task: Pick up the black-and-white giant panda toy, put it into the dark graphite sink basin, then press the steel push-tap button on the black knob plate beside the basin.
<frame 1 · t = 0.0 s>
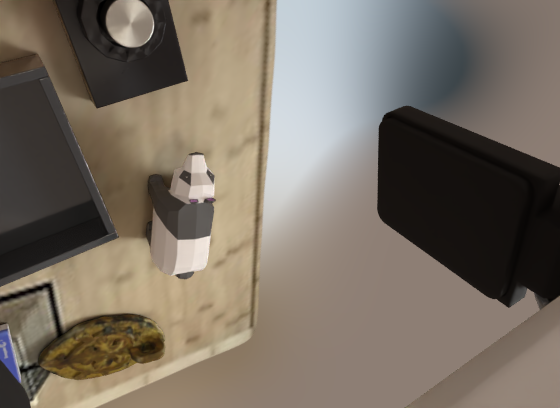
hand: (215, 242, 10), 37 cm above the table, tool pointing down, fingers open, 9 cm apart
black knob plate: (119, 30, 40), on the table
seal: (104, 342, 56), on the table
giant panda: (168, 195, 51), on the table
tap button: (127, 21, 36), point 5 cm above the table, slide at 0.1 cm
sink: (2, 168, 41), on the table
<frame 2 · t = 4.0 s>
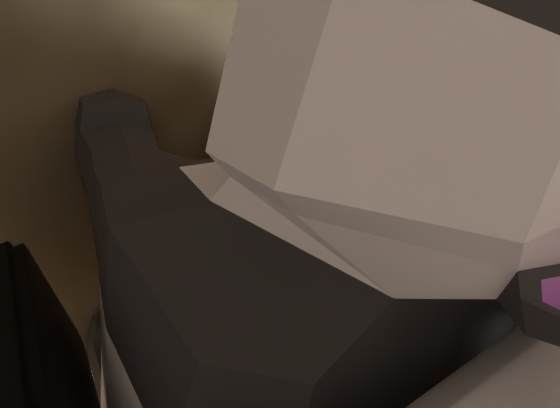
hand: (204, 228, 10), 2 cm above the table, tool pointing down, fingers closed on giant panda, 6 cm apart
giant panda: (176, 196, 12), on the table, touching gripper
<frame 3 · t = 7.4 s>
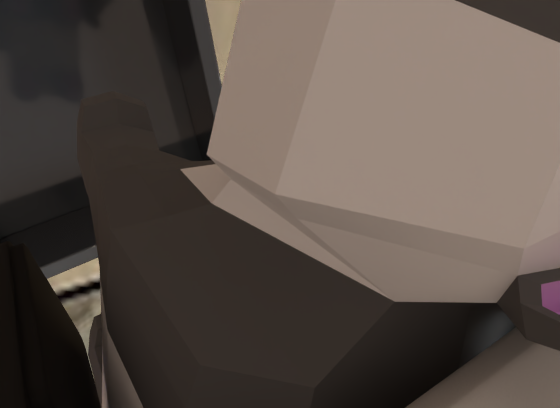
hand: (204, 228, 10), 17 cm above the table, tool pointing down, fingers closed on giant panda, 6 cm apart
giant panda: (177, 198, 12), point 15 cm above the table, touching gripper
sink: (46, 56, 21), on the table
when the fingers open (3 cm above the table, at t = 11.1 s): giant panda stays where it is, resting on sink.
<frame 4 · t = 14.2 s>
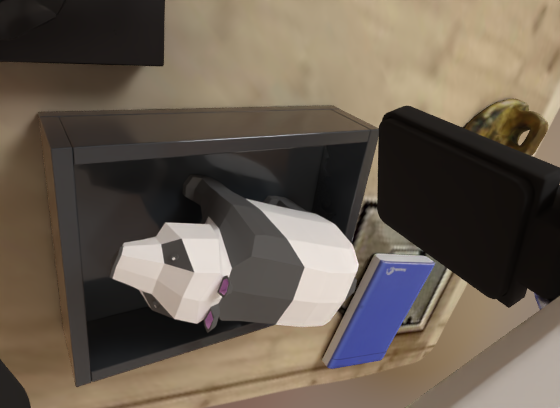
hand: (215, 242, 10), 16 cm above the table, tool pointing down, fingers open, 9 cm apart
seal: (464, 169, 42), on the table
giant panda: (212, 214, 28), point 1 cm above the table, touching sink
hard drive: (372, 305, 45), on the table
sink: (204, 211, 28), on the table
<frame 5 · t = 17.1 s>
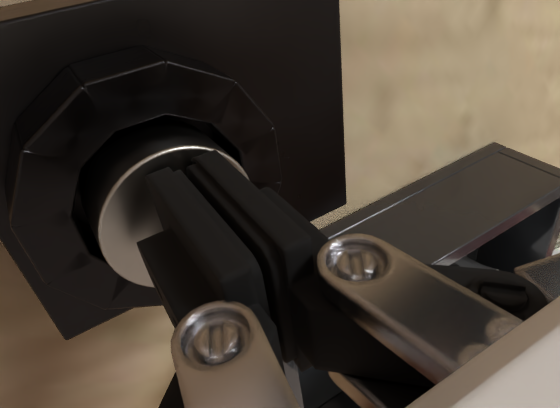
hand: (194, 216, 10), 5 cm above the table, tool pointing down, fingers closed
black knob plate: (170, 129, 15), on the table
tap button: (169, 202, 11), point 4 cm above the table, slide at -0.4 cm, touching gripper
sink: (375, 293, 26), on the table
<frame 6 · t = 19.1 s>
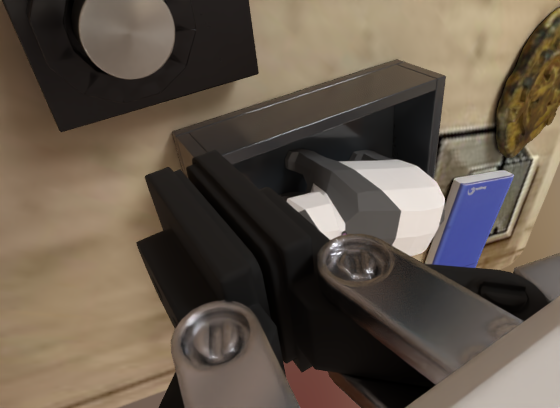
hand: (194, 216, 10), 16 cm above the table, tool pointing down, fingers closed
black knob plate: (132, 5, 22), on the table
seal: (531, 80, 43), on the table
giant panda: (310, 177, 33), point 1 cm above the table, touching sink
tap button: (124, 28, 19), point 5 cm above the table, slide at 0.1 cm
hard drive: (458, 223, 49), on the table
sink: (303, 176, 34), on the table
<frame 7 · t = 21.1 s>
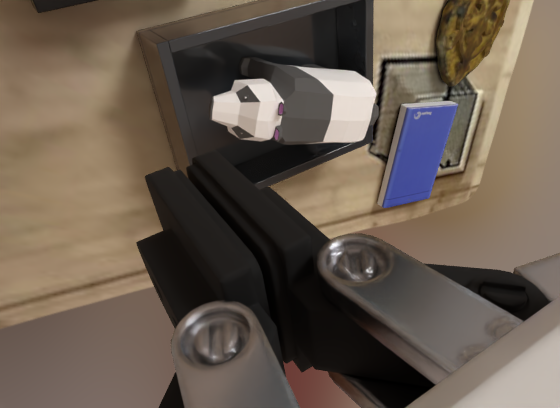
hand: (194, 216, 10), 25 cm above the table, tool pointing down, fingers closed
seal: (468, 14, 48), on the table
giant panda: (264, 87, 38), point 1 cm above the table, touching sink
hard drive: (410, 152, 53), on the table
sink: (257, 86, 38), on the table
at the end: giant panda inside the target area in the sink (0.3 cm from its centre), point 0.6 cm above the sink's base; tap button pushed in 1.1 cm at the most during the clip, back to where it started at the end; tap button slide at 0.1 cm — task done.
